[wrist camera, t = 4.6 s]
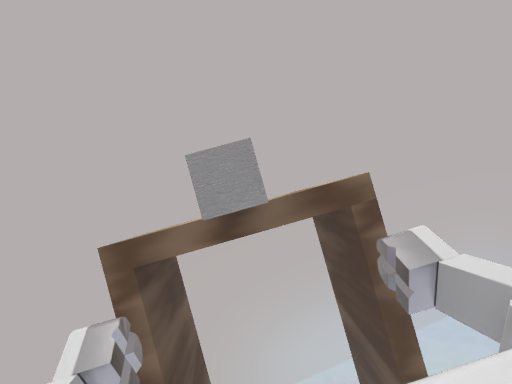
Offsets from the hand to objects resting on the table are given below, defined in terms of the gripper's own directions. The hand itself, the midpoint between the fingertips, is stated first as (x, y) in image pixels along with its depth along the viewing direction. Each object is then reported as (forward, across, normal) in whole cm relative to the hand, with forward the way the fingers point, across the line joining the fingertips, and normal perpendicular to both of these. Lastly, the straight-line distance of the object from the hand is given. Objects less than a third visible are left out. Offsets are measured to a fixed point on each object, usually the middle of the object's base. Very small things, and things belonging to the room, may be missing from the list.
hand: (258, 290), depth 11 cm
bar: (+14, 0, +5) cm, 14 cm away
